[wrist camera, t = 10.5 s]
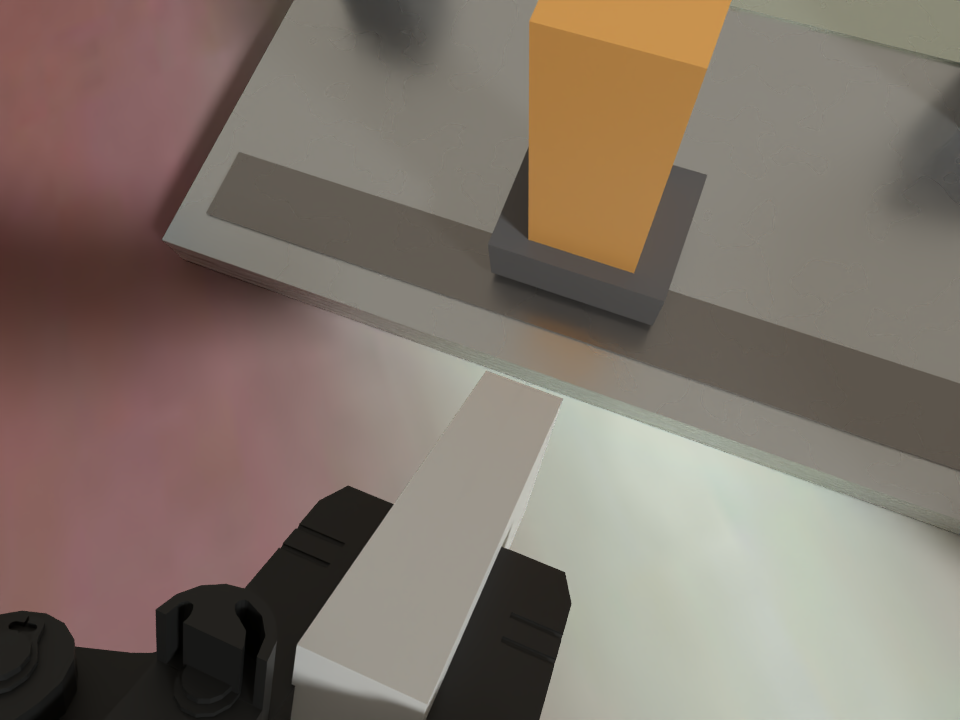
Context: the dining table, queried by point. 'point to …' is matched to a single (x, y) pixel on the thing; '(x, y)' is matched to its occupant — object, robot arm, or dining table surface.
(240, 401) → the dining table surface
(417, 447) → the dining table surface
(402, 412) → the dining table surface
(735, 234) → the tray
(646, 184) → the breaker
